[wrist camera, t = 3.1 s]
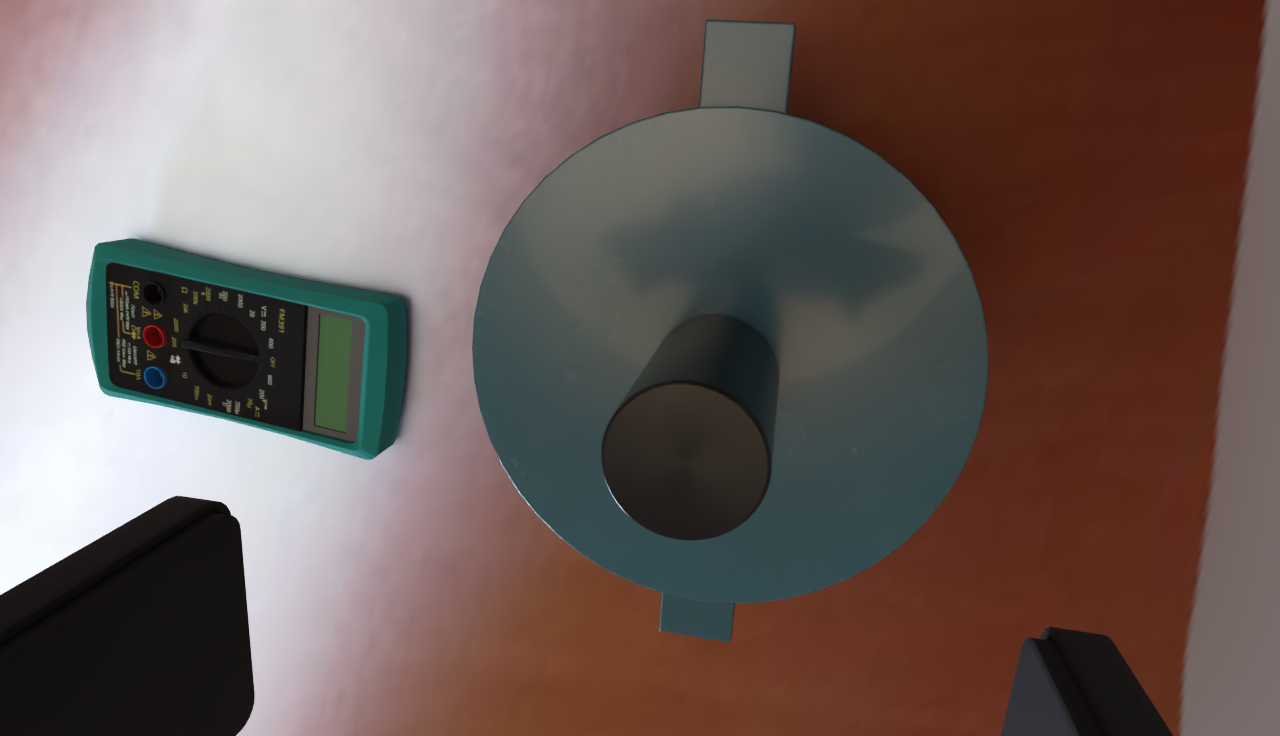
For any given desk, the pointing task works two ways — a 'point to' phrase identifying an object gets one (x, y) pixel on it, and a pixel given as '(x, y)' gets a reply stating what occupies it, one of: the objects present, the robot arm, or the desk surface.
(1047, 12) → the desk surface
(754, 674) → the desk surface
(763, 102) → the pot
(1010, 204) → the desk surface
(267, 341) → the digital multimeter
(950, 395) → the pot lid
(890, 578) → the desk surface
